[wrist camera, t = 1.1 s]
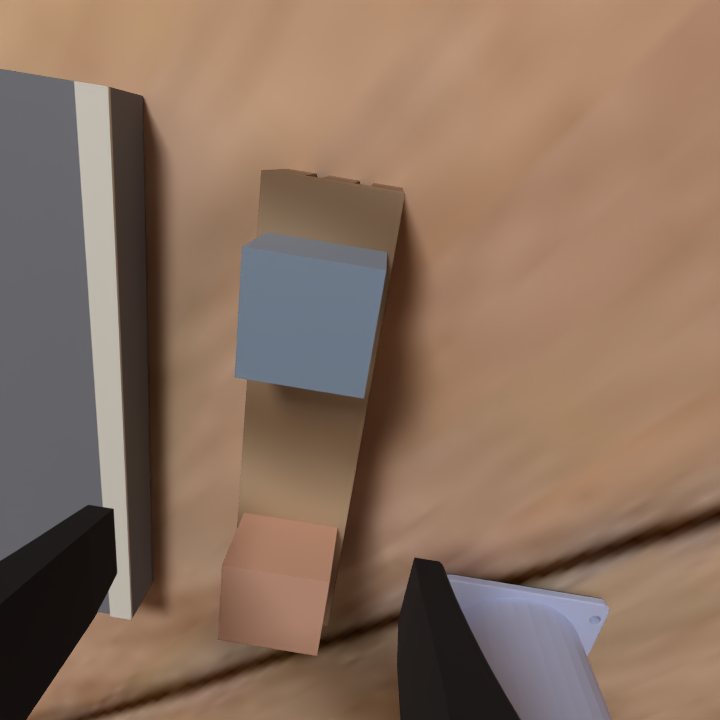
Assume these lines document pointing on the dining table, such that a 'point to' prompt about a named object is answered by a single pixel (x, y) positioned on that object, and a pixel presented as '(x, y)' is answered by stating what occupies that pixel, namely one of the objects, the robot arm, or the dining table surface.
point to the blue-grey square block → (308, 313)
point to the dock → (74, 319)
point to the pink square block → (276, 584)
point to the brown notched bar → (303, 406)
